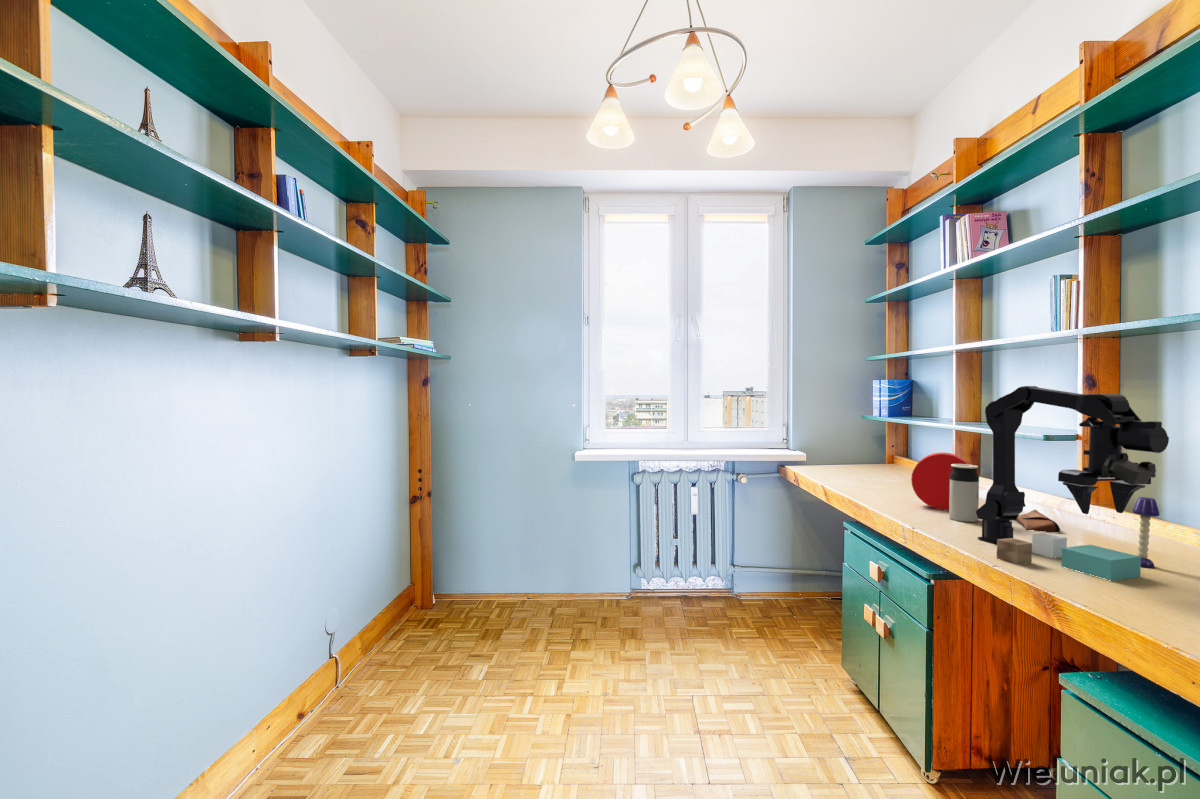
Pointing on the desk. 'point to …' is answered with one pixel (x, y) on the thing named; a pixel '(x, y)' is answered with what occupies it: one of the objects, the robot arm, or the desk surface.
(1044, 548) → the grey cube
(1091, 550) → the teal base block
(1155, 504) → the toy lamp
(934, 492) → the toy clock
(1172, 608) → the desk surface
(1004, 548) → the walnut cube
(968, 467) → the travel mug
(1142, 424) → the robot arm
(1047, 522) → the sunglasses case
